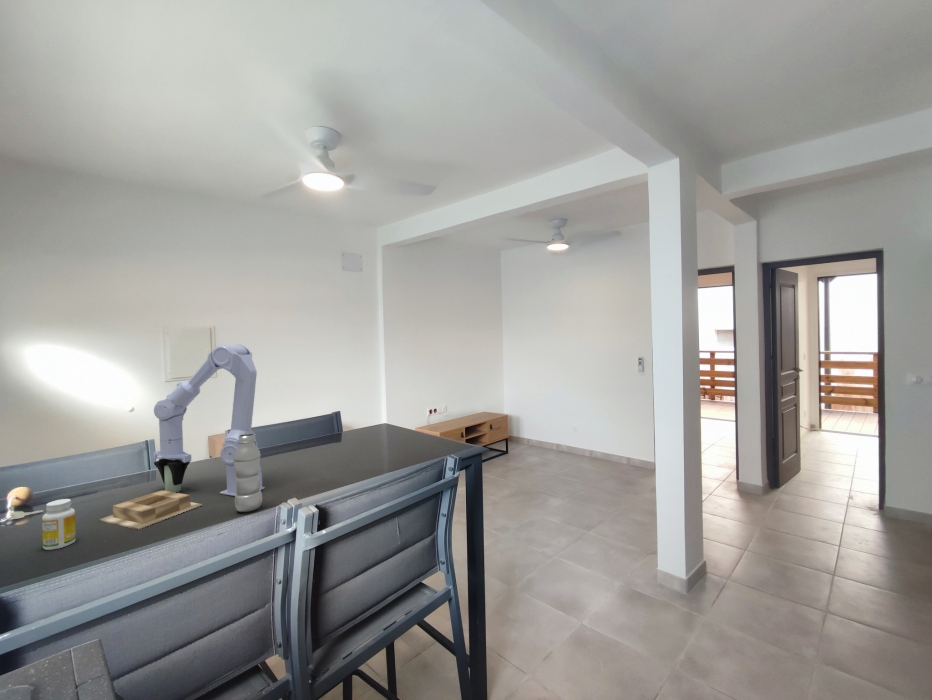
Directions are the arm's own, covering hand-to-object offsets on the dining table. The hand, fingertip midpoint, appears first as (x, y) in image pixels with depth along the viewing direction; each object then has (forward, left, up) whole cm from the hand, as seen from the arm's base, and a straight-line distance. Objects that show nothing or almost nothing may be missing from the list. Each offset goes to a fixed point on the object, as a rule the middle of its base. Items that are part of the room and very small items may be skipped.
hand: (172, 483), depth 128 cm
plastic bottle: (-35, +3, -3) cm, 35 cm away
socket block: (-12, +13, -2) cm, 18 cm away
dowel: (0, 0, -2) cm, 2 cm away
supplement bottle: (-11, +32, -3) cm, 34 cm away
